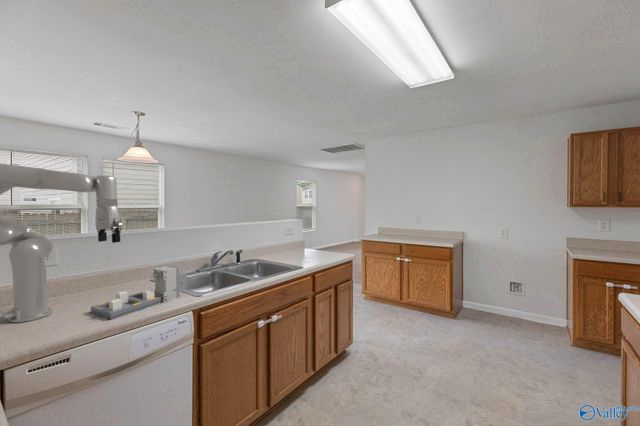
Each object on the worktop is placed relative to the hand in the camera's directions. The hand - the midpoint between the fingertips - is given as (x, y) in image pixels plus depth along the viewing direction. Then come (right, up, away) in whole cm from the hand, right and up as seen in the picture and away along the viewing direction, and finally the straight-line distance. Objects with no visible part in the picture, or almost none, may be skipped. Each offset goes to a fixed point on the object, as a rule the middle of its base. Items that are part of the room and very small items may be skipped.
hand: (109, 241), depth 126 cm
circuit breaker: (+21, -29, +14) cm, 38 cm away
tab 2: (+5, -28, +1) cm, 28 cm away
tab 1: (+9, -28, -9) cm, 31 cm away
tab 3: (+15, -28, +4) cm, 32 cm away
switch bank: (+9, -29, -1) cm, 31 cm away
